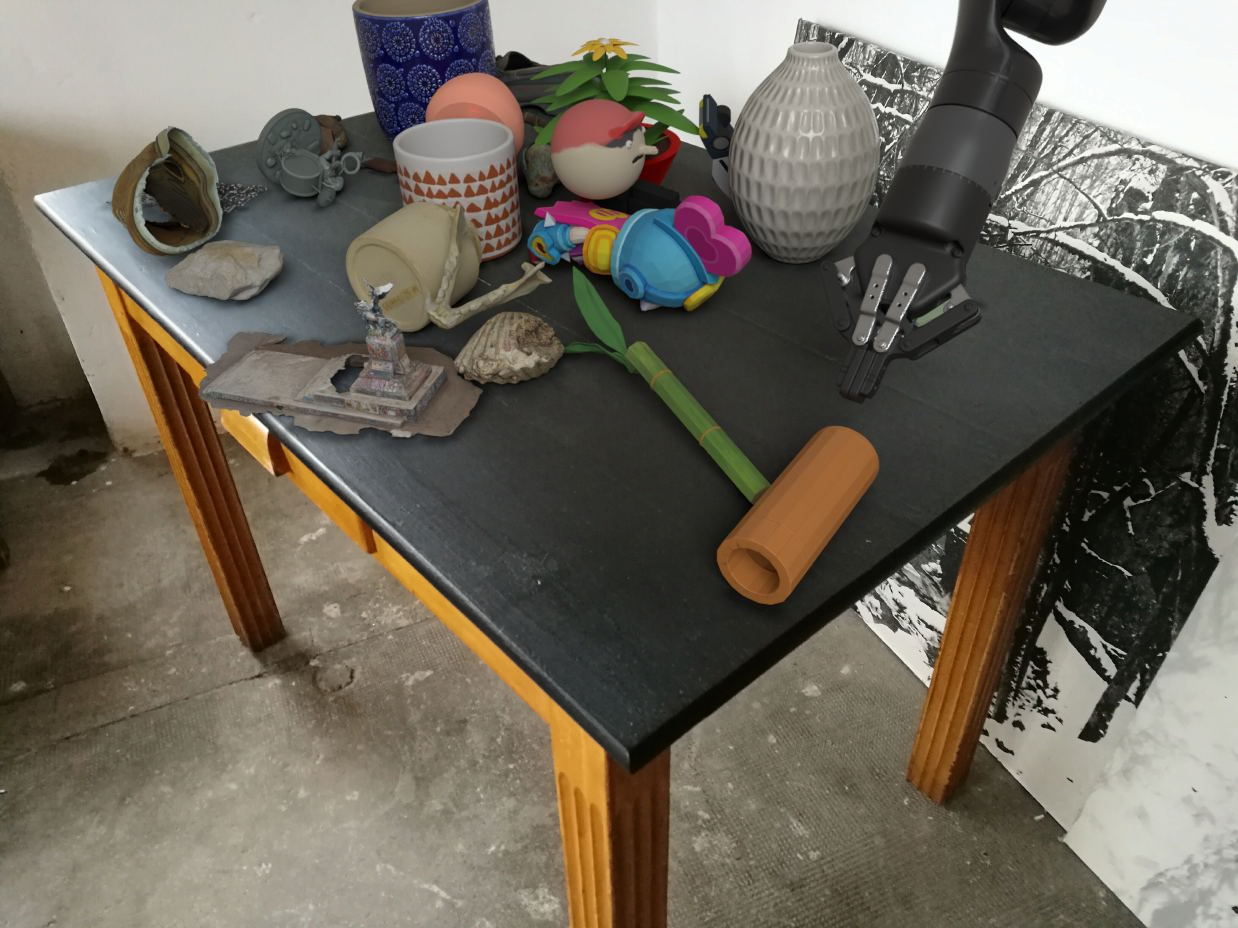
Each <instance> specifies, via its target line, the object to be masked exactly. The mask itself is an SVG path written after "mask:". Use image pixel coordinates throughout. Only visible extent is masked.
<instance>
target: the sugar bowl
mask: <svg viewBox="0 0 1238 928" xmlns="http://www.w3.org/2000/svg"><path fill="white" fill-rule="evenodd" d="M449 209H450V210H451V211H452V212H453V213H455V209H453V208H451V207H448V206H446V205H443V204H432V203H428V202H414V203H411V204H408V205H407V206H405V207H403V206H402V207H401V208H400V209H398V210H397V211H395V212H393V213H391V214H390V215H389V216H387V217H385V218H383V219H382V220H381V221H379V222H377V223H376V224H374V225H373V226H372V227H370V228H369V229H367V230H366V231H365V232H363V233H362V234H360V235H359V236H357V237H355V239H353V240H352V241H351V243H350V244H349V245H348V247H347V251H346V253H345V254H346V255H345V270H346V274H347V278H348V281H349V284H350V286H351V288H352V290H353V293H354V294H355V296H356V297H357V299H358V301H359V300H366V301H367V302H368V303H369V304H370V305H371V298H372V297H370V296H369V295H368V293H367V292H368V291H370V290H372V289H371V288H370V286H369V285H368V286H369V288H367V287H366V286H367V285H366V281H365V280H364V279H365V278H366V279H368V283H369V284H371V285H372V286H373V287H374V289H375V288H376V287H378V286H383V285H386V284H388V283H390V282H394V283H393V284H394V285H393V284H392V285H393V286H392V289H390V290H389V294H387V295H386V298H385V299H384V298H383V299H381V300H379V303H378V305H379V306H380V307H381V308H382V309H383V310H384V311H382V313H383V315H384V316H385V317H387V318H388V319H392V320H394V321H396V322H397V324H396V327H398V328H399V329H401V330H402V332H404V333H413V332H417V331H420V330H422V329H423V328H425V327H426V326H428V325H429V324H430V323H431V322H432V321H431V320H430V319H429V317H428V316H427V312H426V311H425V303H426V300H427V297H428V293H430V295H431V299H432V302H434V300H435V299H436V298H437V294H438V291H439V290H440V288H441V283H442V279H443V275H444V273H443V266H444V264H445V262H446V259H447V252H448V246H449V230H450V228H451V221H450V217H449V215H448V210H449ZM465 220H467V219H466V218H465ZM467 221H468V220H467ZM468 222H471V221H468ZM471 223H472V224H473V225H474V223H473V222H471ZM481 259H482V246H481V243H480V240H479V238H478V235H477V234H476V235H473V234H471V233H470V232H467V233H465V235H464V236H463V238H462V250H461V259H460V262H459V267H458V271H457V275H456V282H455V286H454V291H453V295H452V299H451V302H450V307H451V308H452V307H453V306H454V305H455V304H456V303H458V302H459V301H460V300H461V299H462V298H464V297H465V296H466V295H467V294H468V293H470V292H471V290H472V289H473V288H474V287H475V286H476V284H477V282H478V278H479V273H480V265H481V263H482V262H481ZM377 313H378V314H379V312H378V311H377ZM396 322H395V323H396ZM390 324H391V323H390Z"/></svg>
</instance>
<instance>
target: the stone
mask: <svg viewBox="0 0 1238 928" xmlns="http://www.w3.org/2000/svg"><path fill="white" fill-rule="evenodd" d="M284 261H285V256H284V253H283V251H282V248H281V247H280V246H279V245H267V244H266V245H265V244H264V245H263V244H258V243H254V242H246V241H239V240H233V239H232V240H228V239H224V240H216V241H211V242H206V243H205V244H204V245H203V246H202V247H201V248H200V249H197V250H196V252H192V253H189V254H187V256H185V258H184V259H183V260H181V261H179V262H178V263H177V264H175V265H174V266H173V267H171V268H170V269H168V270H167V272H166V274H165V275H164V278H165V281H166V285H167V287H168V288H171V289H176V290H178V291H180V292H183V293H184V294H187V295H191V296H193V295H195V296H197V297H208V298H215V299H217V300H221V301H227V300H235V301H246V300H249V299H251V298H252V297H253V298H254V297H256V296H258V295H259V294H260V293H261V292H263V290H264V289H265V288H266V287H267V286H268V284H269V283H270V282H271V281H272V280H274V278H276V277H277V276H278V275H280V274H281V272H282V269H283V265H284Z"/></svg>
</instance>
